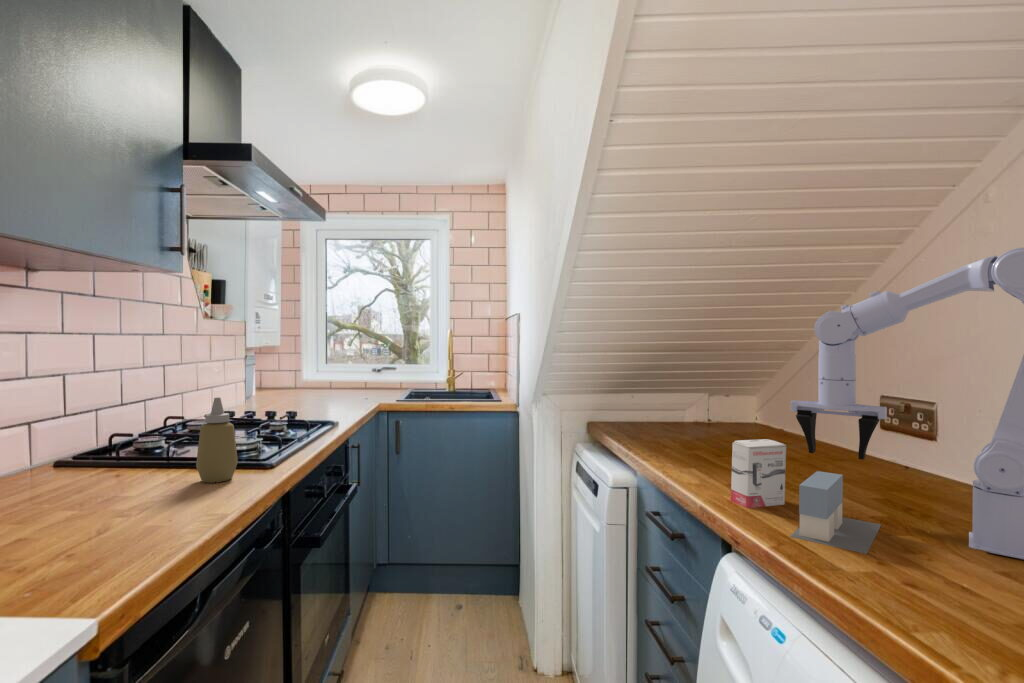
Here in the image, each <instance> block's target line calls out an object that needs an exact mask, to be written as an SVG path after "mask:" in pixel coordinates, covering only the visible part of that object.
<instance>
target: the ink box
mask: <svg viewBox="0 0 1024 683" xmlns="http://www.w3.org/2000/svg"><path fill="white" fill-rule="evenodd" d="M731 452H732V455H731V480H730V481H731V482H730V483H731V484H730V485H731V486H730V488H731V489H730V502H732V503H734V504H737V505H739V506H742V507H744V508H747V509H751V508H752V509H753V508H754V509H755V508H763V507H773V506H774V507H775V506H782V505H785V504H786V503H785V499H786V498H785V497H786V496H785V495H786V464H787V463H786V462H787V461H786V460H787V444H784V443H782V442H779V441H778V440H774V439H768V438H765V439H763V438H762V439H743V440H742V439H741V440H734V442H732V451H731Z"/></svg>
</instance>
